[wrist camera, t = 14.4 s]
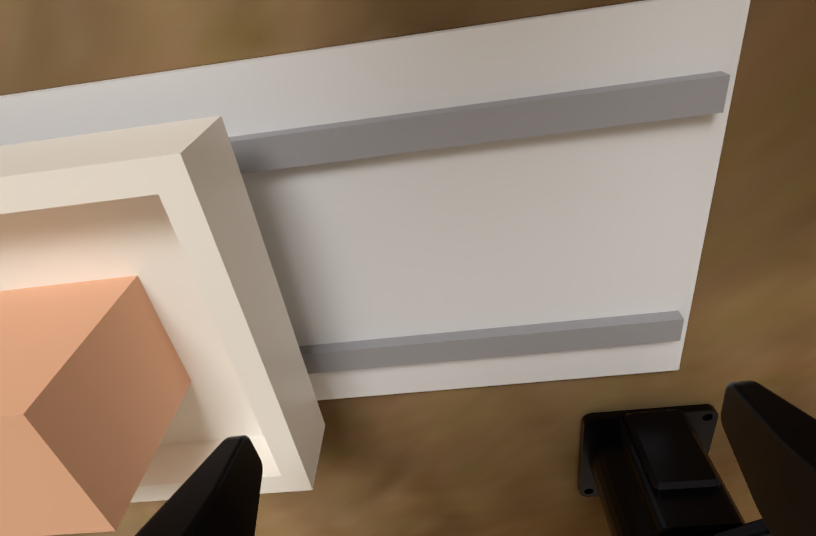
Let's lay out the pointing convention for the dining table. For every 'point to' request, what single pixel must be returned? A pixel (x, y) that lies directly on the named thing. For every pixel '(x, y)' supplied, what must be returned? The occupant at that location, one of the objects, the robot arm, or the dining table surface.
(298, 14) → the dining table surface
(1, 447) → the block
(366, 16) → the dining table surface
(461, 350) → the track
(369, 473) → the dining table surface
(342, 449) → the dining table surface
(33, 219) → the cream rimmed tray
